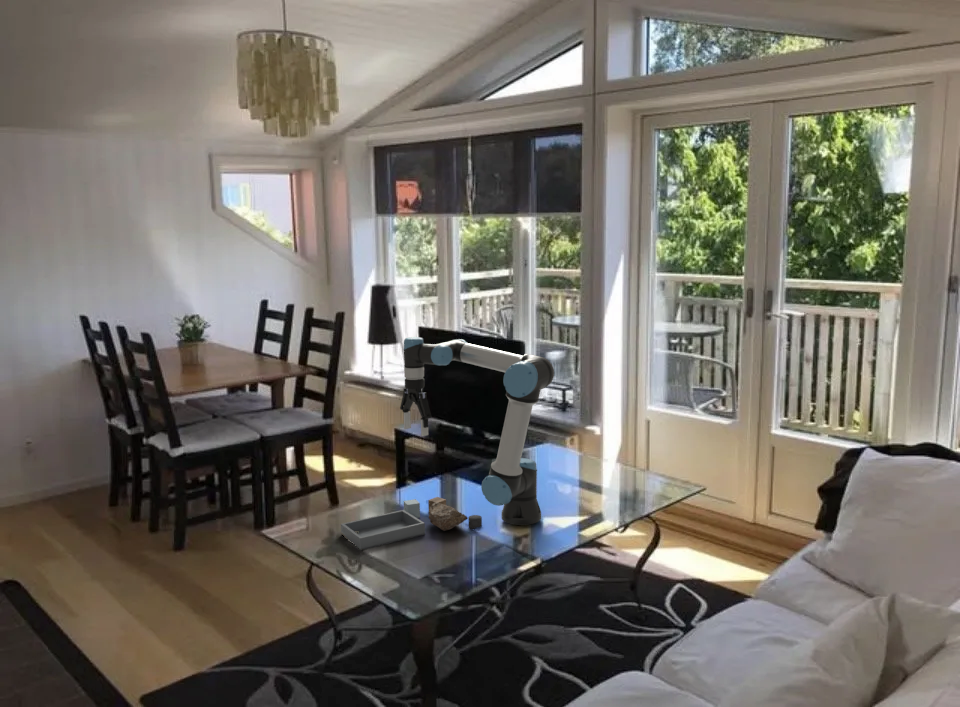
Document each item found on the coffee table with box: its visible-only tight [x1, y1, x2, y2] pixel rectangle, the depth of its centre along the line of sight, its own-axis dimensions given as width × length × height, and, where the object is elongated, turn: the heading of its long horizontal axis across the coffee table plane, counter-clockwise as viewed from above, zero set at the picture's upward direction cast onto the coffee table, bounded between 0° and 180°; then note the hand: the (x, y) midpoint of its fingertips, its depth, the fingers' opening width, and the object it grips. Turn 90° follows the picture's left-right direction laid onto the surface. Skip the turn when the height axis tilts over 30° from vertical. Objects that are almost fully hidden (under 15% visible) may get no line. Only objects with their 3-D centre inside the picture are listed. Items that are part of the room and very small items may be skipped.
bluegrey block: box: [403, 498, 421, 519], centre depth 316 cm, size 5×5×6 cm
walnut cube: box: [427, 496, 447, 509], centre depth 321 cm, size 5×5×5 cm
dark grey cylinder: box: [468, 514, 483, 530], centre depth 303 cm, size 5×5×4 cm
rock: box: [428, 502, 469, 532], centre depth 303 cm, size 18×10×10 cm, turn 43°
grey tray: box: [340, 509, 426, 551], centre depth 297 cm, size 17×26×4 cm, turn 123°
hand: (416, 432), depth 309 cm, fingers open, 13 cm apart
